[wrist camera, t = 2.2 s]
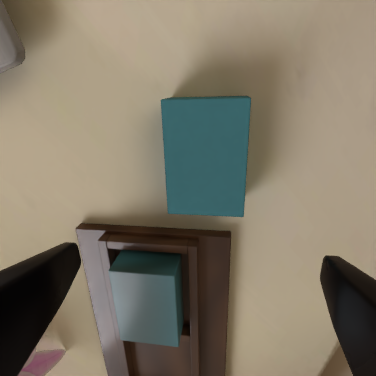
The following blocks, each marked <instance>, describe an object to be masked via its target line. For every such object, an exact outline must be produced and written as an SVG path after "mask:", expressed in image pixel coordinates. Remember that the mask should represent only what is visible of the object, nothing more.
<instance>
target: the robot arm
mask: <svg viewBox="0 0 376 376" xmlns="http://www.w3.org/2000/svg"><path fill="white" fill-rule="evenodd" d="M80 265H81V258H80V254H79V250H78V246H77V244H76V243H69V242H66V243H63V244H60V245H58V246H56V247H54V248H51V249H49V250H47V251H44V252H42V253H40V254H38V255H35V256H33V257H31V258H29V259H26V260H24V261H22V262H19V263H17V264H15V265H13V266H10V267H8V268H6V269H4V270H1V271H0V376H18V375H19V373H20V371H21V370H22V368H23V367H24V365H25V363H26V362H27V360H28V358H29V357H30V355H31V353H32V352H33V350H34V349H35V347H36V345H37V344H38V342H39V340H40V339H41V337H42V335H43V334H44V332H45V331H46V329H47V327H48V326H49V324H50V322H51V321H52V319H53V317H54V316H55V314H56V313H57V311H58V309H59V308H60V306H61V304H62V302H63V300H64V299H65V297H66V295H67V293H68V291H69V289H70V286H71V284H72V282H73V280H74V278H75V276H76V274H77V272H78V270H79V268H80ZM320 281H321V285H322V289H323V292H324V296H325V299H326V303H327V307H328V310H329V314H330V317H331V320H332V324H333V327H334V329H335V332H336V335H337V337H338V340H339V342H340V345H341V347H342V349H343V352H344V354H345V357H346V359H347V361H348V364H349V367H350V369H351V372H352V374H353V376H376V280H375V279H373V278H372V277H370V276H369V275H367V274H366V273H364V272H362V271H361V270H359V269H358V268H356V267H355V266H353V265H351V264H350V263H348V262H347V261H345V260H344V259H342V258H340V257H339V256H325V257H324V258H323V263H322V268H321V273H320Z"/></svg>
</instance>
